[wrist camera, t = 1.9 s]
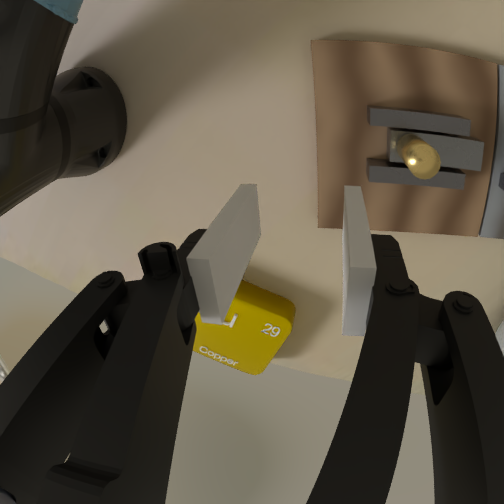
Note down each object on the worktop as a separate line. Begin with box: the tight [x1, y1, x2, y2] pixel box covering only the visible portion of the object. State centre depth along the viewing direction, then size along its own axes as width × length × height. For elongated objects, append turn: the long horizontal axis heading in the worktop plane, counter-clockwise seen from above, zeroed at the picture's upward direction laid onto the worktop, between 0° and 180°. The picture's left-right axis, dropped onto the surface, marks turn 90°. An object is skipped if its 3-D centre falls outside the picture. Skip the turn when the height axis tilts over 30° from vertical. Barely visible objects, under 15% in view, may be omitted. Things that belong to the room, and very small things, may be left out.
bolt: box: [386, 127, 484, 179], centre depth 23 cm, size 10×3×7 cm, turn 96°
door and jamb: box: [311, 40, 504, 239], centre depth 27 cm, size 28×20×2 cm
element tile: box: [192, 280, 295, 375], centre depth 46 cm, size 15×15×5 cm
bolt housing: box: [366, 105, 504, 191], centre depth 24 cm, size 22×7×4 cm, turn 96°
